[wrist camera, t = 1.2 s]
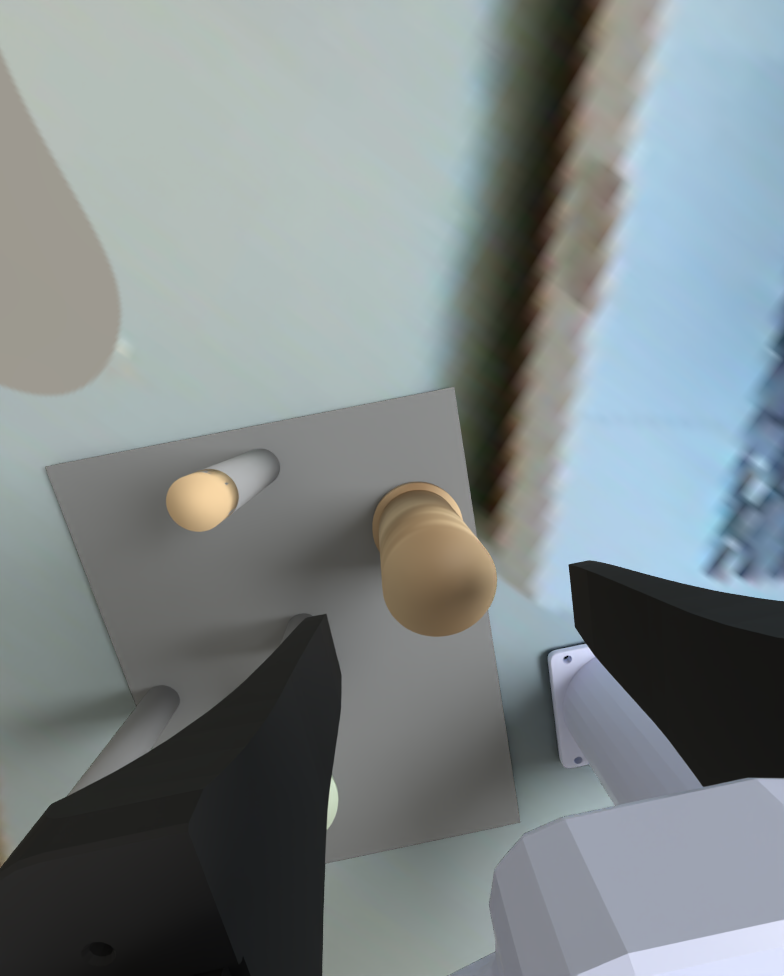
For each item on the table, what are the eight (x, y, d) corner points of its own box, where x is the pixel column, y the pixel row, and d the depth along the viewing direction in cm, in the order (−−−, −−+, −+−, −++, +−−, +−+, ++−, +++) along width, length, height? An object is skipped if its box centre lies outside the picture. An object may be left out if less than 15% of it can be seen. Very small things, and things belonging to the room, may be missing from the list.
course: (452, 387, 20) (505, 375, 12) (518, 816, 25) (582, 996, 18) (51, 465, 19) (-161, 505, 12) (208, 881, 25) (136, 1093, 17)
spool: (453, 473, 20) (496, 508, 13) (466, 557, 21) (513, 630, 14) (364, 491, 20) (361, 535, 13) (381, 574, 21) (387, 655, 14)
